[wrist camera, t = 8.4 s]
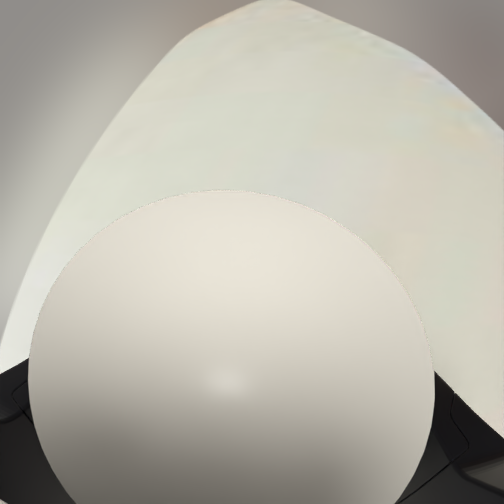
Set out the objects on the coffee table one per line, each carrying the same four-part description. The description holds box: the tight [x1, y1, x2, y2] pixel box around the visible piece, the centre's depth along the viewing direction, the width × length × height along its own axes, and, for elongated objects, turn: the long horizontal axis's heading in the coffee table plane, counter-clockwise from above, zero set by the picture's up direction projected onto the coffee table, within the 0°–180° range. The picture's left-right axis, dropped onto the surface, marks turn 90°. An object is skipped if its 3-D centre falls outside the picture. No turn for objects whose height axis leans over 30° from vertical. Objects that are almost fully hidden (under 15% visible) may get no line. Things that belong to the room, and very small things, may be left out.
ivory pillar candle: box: [28, 190, 435, 504], centre depth 9 cm, size 5×5×13 cm
